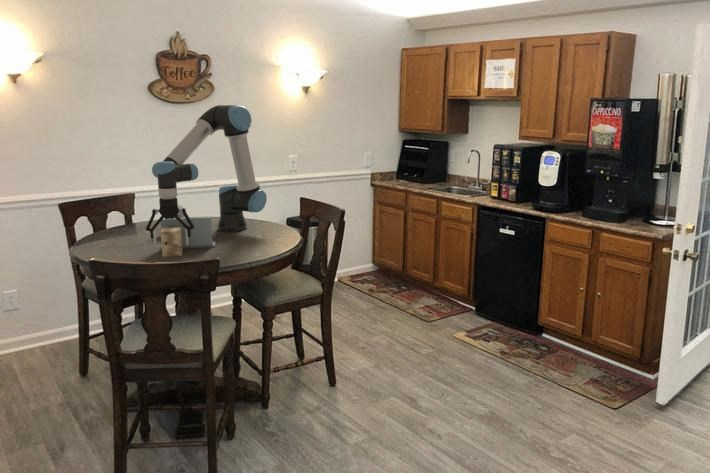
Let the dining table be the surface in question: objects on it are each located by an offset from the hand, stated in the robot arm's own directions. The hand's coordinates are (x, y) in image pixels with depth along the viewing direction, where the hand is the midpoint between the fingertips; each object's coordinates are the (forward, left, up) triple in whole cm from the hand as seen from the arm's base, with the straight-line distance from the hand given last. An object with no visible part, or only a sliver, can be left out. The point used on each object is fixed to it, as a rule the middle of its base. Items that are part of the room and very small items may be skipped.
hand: (171, 245), depth 258 cm
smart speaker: (+2, -41, -4) cm, 42 cm away
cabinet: (0, -2, -4) cm, 4 cm away
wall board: (-6, -12, -4) cm, 14 cm away
